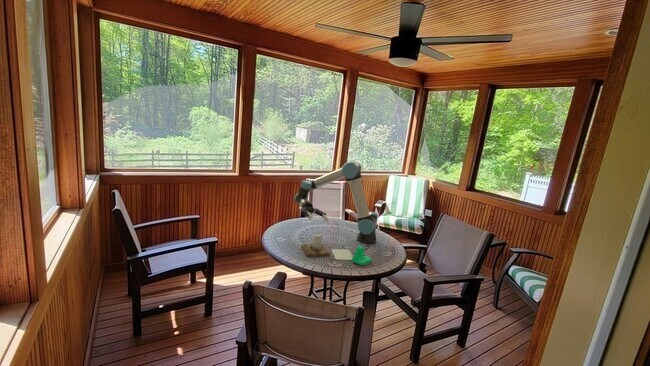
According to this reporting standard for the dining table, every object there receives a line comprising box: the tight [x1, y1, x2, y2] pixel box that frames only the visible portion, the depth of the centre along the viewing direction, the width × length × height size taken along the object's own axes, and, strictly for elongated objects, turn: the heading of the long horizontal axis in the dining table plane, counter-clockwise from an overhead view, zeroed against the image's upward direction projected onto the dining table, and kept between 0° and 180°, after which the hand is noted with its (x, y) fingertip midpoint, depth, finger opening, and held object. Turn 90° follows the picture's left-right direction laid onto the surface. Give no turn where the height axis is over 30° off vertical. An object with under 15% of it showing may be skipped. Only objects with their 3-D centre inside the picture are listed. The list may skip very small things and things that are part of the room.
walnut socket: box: [301, 243, 332, 258], centre depth 205 cm, size 16×16×2 cm
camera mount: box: [351, 245, 373, 266], centre depth 196 cm, size 12×8×10 cm, turn 137°
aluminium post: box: [311, 232, 323, 251], centre depth 204 cm, size 5×5×12 cm
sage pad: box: [331, 248, 354, 261], centre depth 205 cm, size 13×16×1 cm
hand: (319, 219), depth 210 cm, fingers open, 13 cm apart
